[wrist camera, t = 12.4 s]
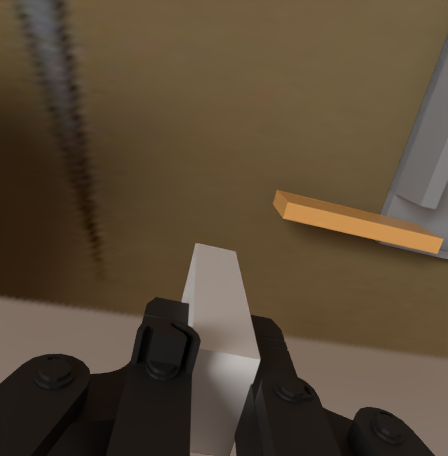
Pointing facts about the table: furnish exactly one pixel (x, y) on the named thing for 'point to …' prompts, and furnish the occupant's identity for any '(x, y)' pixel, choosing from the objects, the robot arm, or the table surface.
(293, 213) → the orange long flat block
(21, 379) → the robot arm
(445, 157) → the box
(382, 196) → the table surface
